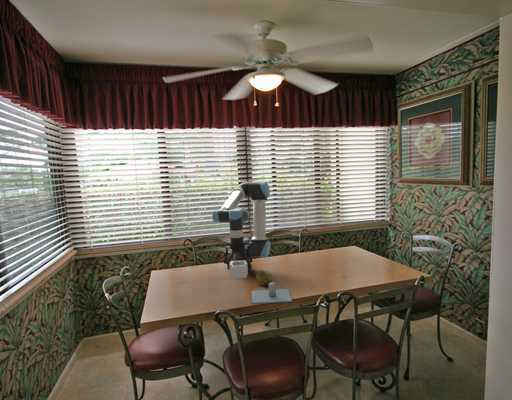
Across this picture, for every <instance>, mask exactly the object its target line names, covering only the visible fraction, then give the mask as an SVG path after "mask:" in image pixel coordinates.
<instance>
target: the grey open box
mask: <svg viewBox="0 0 512 400" xmlns="http://www.w3.org/2000/svg"><path fill="white" fill-rule="evenodd" d="M230 263H231V265H230V270H229V273H230V272H231V276H230V279H247V278H248V275H247V271H246V261H234V260H231V261H230Z"/></svg>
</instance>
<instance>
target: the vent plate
mask: <svg viewBox="0 0 512 400" xmlns="http://www.w3.org/2000/svg"><path fill="white" fill-rule="evenodd" d="M276 285H277V284H276V282H274V281H272V282H271V283H269V286H268V289H264V290H251V304H252V305H256V304H258V303H260V304H274V303H276V304H277V303H292V302H293V300H292V297H291V296H292V295H291V293H290V291H289V289H288V288H282V289H281V288H280V289H277V286H276ZM258 305H259V304H258Z"/></svg>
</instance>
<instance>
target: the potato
mask: <svg viewBox="0 0 512 400" xmlns="http://www.w3.org/2000/svg"><path fill="white" fill-rule="evenodd" d="M255 275H256V280H257V281H258V282H259V284H260V286H263V287H269V283H271V282H273V281H272V279H271V277H270V275H269V273H268V272H266V271H265V270H263V269H260V270H258V271H257V272H256V274H255Z"/></svg>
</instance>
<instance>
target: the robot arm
mask: <svg viewBox="0 0 512 400" xmlns="http://www.w3.org/2000/svg"><path fill="white" fill-rule="evenodd" d="M270 196H271V189H270V186H269V184H268V182H267V181H264V180H263V181H262V180H259V181H244V182H242V183H240V184H238V185H237V186H236V187H234V188H233V190H232V191H231V195H230V196H229V197H228V199H227V200H226V201H225V202H224V203H223V205H222V206H221V207H220V209H217V210H213V212H212V214H211V218H212V221H213V222H214V223H221V224H223V223H225V224H226V223H229V224H228V225H229V236H230V237H229V238H230V245H226V246H225V253H224V254H225V255H224V259H223V263H224V264H225V265H226V266H227V270H228V271H229V277H231V272H230V265H231V261H232V259H233V261H246V271H247V276H248V275H249V273H251V272H253V268H254V267H253V265H252V262H253V258H261V259H262V258H263V259H264V258H265V259H266V258H267V257H268V256H269V254H270V250H271V242H270V240H268V237H267V236H266V202H267V201H268V199H269V198H270ZM244 199H250V201H251V202H252V205H253V207H252V208H253V210H252V211H253V212H252V214H253V217H252V218H253V223H252V225H253V230H252V231H253V236H252V237H251V240H250V238H248V237H244V227H243V226H244V223H247V222H248V221H249V219H250V216H251V215H250V211H248V210H247V209H244V208H243V209H239V208H237V206H239V204H240V202H241V201H243V200H244ZM230 250H231V253H230V255H229V257H228V254H229V251H230ZM227 259H228V260H227Z"/></svg>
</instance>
